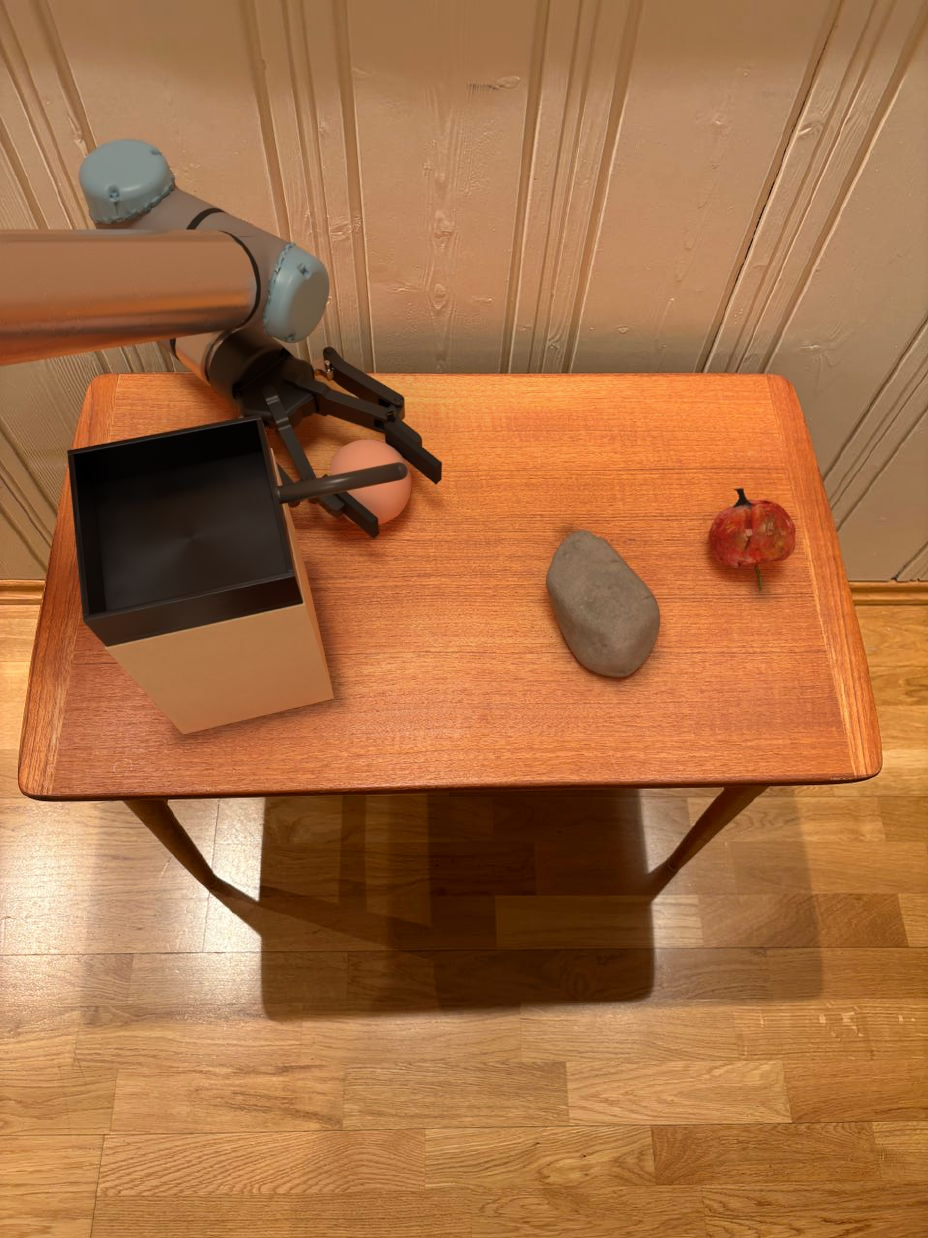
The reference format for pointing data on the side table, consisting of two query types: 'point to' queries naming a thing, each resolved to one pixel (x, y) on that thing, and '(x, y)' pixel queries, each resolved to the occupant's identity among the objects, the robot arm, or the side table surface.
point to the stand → (234, 662)
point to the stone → (602, 605)
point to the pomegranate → (752, 533)
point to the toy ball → (377, 498)
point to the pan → (189, 528)
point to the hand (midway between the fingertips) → (407, 500)
